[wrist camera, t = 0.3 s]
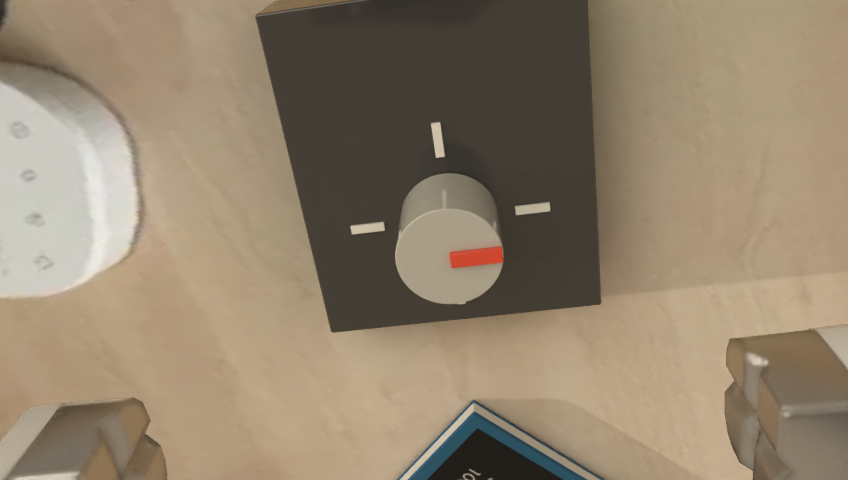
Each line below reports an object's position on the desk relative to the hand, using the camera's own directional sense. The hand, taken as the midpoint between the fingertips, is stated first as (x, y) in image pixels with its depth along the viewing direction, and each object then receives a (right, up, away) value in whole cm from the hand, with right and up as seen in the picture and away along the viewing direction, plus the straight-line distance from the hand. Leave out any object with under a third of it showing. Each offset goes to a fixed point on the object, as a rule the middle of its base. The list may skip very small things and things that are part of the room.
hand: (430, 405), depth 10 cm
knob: (+1, +3, +20) cm, 20 cm away
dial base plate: (+1, +6, +22) cm, 23 cm away
